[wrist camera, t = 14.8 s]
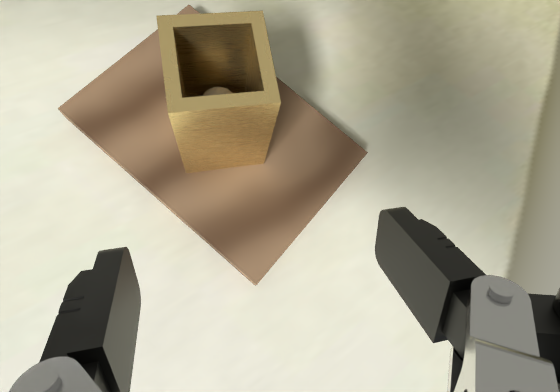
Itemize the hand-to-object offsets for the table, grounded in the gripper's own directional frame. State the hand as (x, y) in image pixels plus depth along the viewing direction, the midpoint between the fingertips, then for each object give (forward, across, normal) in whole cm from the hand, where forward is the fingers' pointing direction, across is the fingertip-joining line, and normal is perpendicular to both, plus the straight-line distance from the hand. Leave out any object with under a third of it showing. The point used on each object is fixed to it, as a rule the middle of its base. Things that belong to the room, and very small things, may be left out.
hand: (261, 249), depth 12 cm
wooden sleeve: (+19, 0, +3) cm, 19 cm away
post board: (+20, 0, +4) cm, 21 cm away
